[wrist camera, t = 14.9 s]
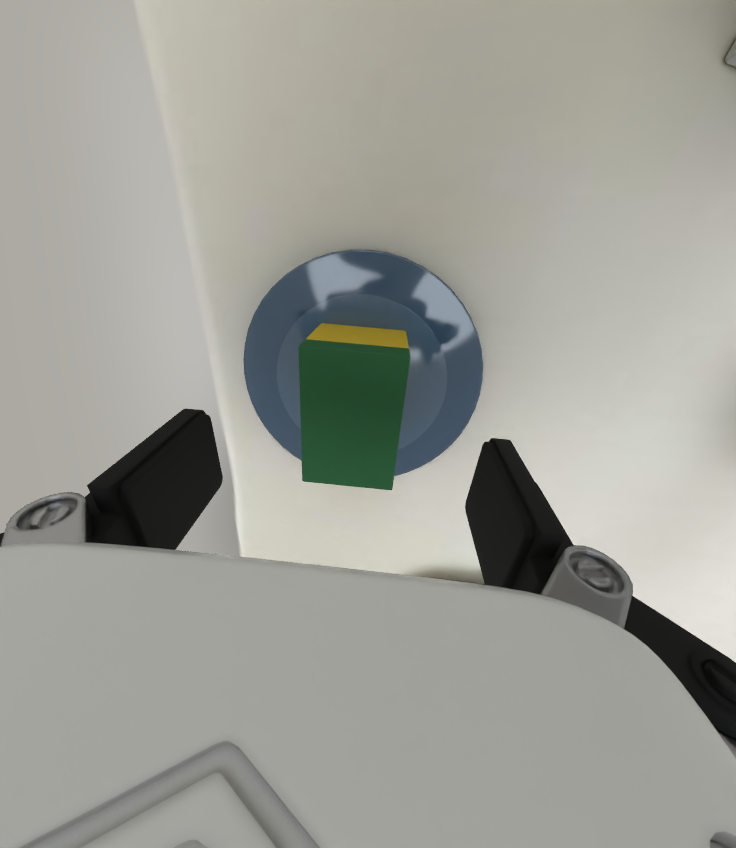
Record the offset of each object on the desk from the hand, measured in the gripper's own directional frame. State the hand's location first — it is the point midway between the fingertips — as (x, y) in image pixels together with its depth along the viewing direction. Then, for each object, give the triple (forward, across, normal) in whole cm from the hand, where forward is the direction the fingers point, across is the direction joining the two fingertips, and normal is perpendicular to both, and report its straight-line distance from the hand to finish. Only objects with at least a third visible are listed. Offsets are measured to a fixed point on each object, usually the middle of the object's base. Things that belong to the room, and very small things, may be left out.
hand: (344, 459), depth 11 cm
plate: (+9, 0, +1) cm, 9 cm away
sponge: (+8, 0, +1) cm, 8 cm away
